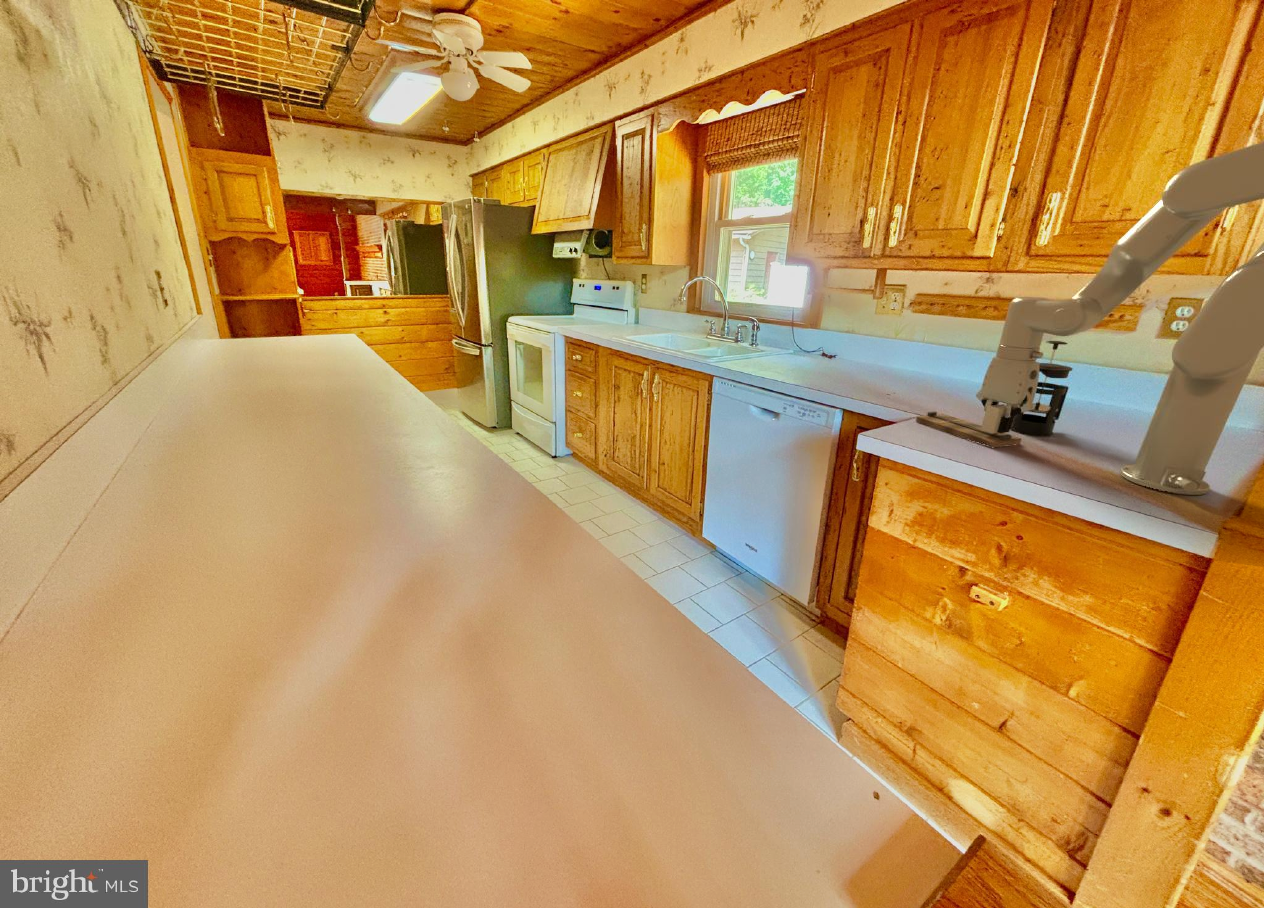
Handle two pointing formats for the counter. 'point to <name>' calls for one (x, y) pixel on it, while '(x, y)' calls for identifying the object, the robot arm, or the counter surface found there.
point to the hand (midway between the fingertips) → (995, 429)
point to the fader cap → (993, 418)
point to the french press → (1036, 423)
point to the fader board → (966, 430)
